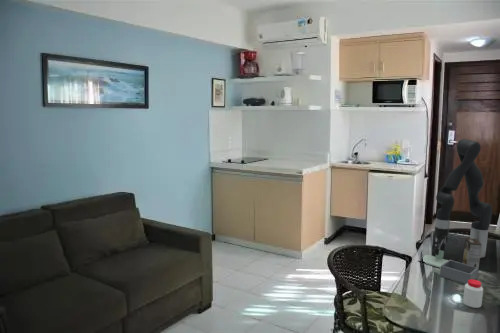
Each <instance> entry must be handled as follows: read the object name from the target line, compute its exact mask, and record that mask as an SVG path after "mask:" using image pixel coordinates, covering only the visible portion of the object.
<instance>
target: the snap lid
mask: <svg viewBox="0 0 500 333" xmlns="http://www.w3.org/2000/svg"><path fill="white" fill-rule="evenodd" d="M444 253H445V251H442V250H440V249H439V255H435V256H434V255H430V254H424V255H423V256H424V257H423V256H422V257H423V261H424V262H425V263H427V264H426V265H429V266H432V267H436V268H439V269H441V265H443V264H444V263H445V262H447V261H448V259H445V258H444ZM425 263H424V264H425Z"/></svg>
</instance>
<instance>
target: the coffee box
mask: <svg viewBox="0 0 500 333" xmlns="http://www.w3.org/2000/svg"><path fill="white" fill-rule="evenodd" d="M481 246H482V244H481V243H480V242H479V241H478V240H477V239H471V238H470V237H469V238H468V237H466V238H465V239H464V249H463V256H462V263H463V264H467V265H470V266H474V267H477V268H478V270H479V267H480V260H481V258H480V253H481Z"/></svg>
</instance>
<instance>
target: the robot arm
mask: <svg viewBox="0 0 500 333" xmlns="http://www.w3.org/2000/svg"><path fill="white" fill-rule="evenodd" d="M481 148H482V147H481V144H480V143H479V142H478V141H475V140H471V139H468V138H466V139H465V138H463V139H462V138H461V139H460V140H459V141H458V142H457V145H456V152H457V155H458V158H459V160H460V161H459V162H460V163H459V164H458V165H457V166H456V167H455V168H454V169H453V170H451V172H450V173H449V175H448V176H447V178H446V181H445V182H444V184H443V185H442V187H440V189H438V191H437V194H436V197H435V200H436V202H437V203H439V204H440V205H441V207H439V208H438V209H437V211H436V218H435V224H434V234H436V237H434V239H433V246H432V247H433V249H434V255H435V256H436V255H439V250H442V251H444V252H445V251H446V245H447V243H448V236H449V234H450V224H451V223H450V218H451V213H452V209H453V208H454V205H455V199H454V198H455V197H454V196H453V195H452V194H451V193H452V192H455V191H457V190H458V188H459V186H460V184H461V182H462V180H463V178H464V181H465V186H466V188H467V189H466V190H467V195H468V204H469V211H470V213H471V215H473V216H475V217H478V218H479V220H476V221H475V220H474V221H472V222H471V223H470V224H471V227H470V235H469V238H471V239H477V240H478V241H479V242H480V243H481V244H482V246H481V253H480V259H482V258H485V257H486V253H487V252H486V251H487V244H488V235H489V227H490V225H491V223H492V222H491V221H492V215H493V206H492V204H491V203H487V202H484V201H481V200H480V197H479V193H480V192H481V190H482V189H483V187H484V177H483V174H482V171H481V170H480V168H479V167H478V165H477V164H476V162H475V160H476V159H477V157H478V156H479V154H480V152H481V150H482V149H481Z"/></svg>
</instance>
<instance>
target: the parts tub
mask: <svg viewBox="0 0 500 333" xmlns="http://www.w3.org/2000/svg"><path fill="white" fill-rule="evenodd" d="M447 260H448V259H447ZM478 275H479V269H478V268H477V267H474V266H470V265H467V264H463V262H460V261H455V260H452V259H449V260H448V261H447V262H445V263H444V264H443V265H441V268H440V271H439V277H441V278H444V279H448V280H452V281H454V282H457V283H460V284H463V285H465V284H467V283H468V280H470V279H473V280H478Z"/></svg>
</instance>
